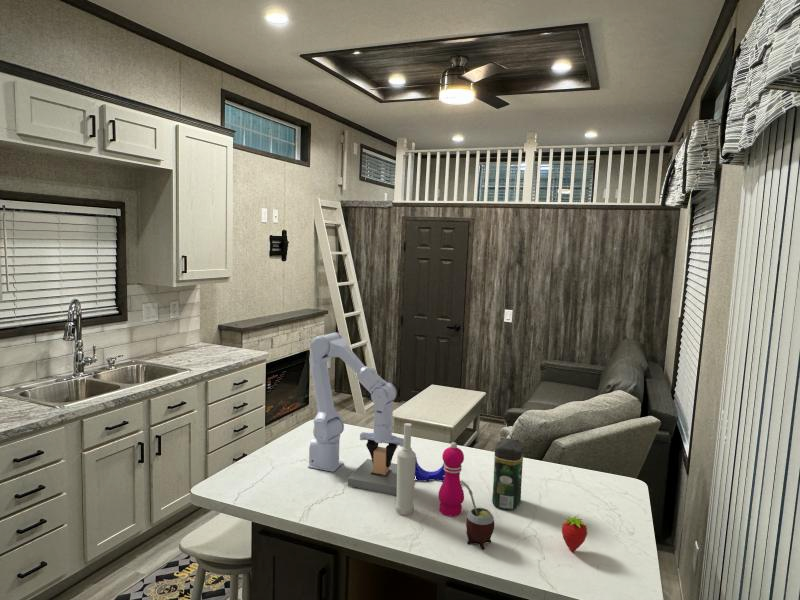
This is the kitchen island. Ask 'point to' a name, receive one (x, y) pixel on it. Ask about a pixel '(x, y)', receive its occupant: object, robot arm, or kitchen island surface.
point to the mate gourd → (479, 524)
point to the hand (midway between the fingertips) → (381, 464)
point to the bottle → (405, 475)
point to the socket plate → (374, 478)
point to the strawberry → (574, 533)
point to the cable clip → (429, 473)
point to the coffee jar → (507, 474)
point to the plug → (380, 461)
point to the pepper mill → (451, 482)
